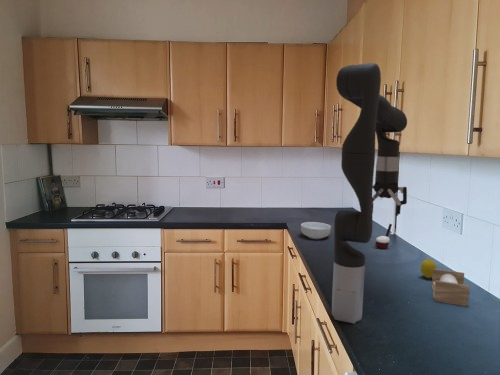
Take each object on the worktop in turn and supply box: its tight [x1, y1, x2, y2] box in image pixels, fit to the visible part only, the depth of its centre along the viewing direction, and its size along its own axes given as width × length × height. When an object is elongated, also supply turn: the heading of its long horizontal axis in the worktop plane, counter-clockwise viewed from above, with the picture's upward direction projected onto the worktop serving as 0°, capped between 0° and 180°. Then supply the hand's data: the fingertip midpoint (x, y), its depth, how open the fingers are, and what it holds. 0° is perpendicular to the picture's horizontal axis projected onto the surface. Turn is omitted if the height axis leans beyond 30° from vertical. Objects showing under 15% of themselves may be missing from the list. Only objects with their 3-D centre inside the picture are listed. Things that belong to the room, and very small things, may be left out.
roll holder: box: [431, 268, 471, 307], centre depth 127 cm, size 13×10×7 cm
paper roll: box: [440, 274, 458, 284], centre depth 127 cm, size 9×6×6 cm
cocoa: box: [374, 223, 393, 250], centre depth 182 cm, size 10×6×12 cm, turn 92°
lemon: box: [420, 258, 437, 279], centre depth 143 cm, size 6×6×8 cm
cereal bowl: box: [300, 221, 332, 240], centre depth 200 cm, size 17×17×7 cm
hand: (384, 214), depth 129 cm, fingers open, 8 cm apart
